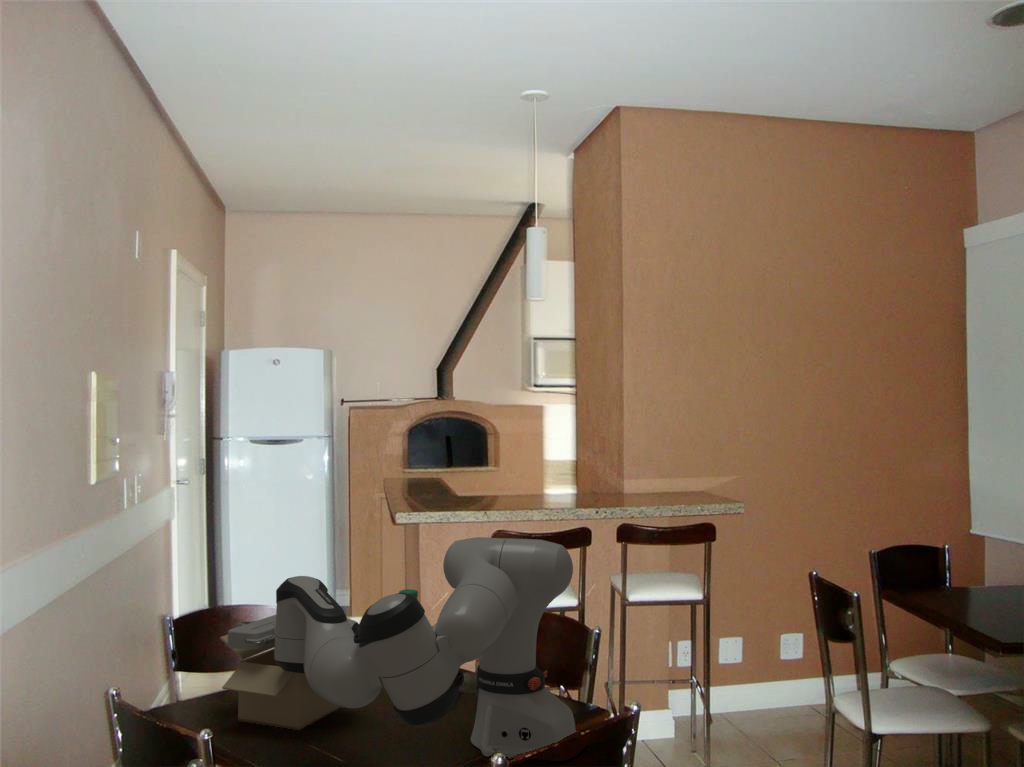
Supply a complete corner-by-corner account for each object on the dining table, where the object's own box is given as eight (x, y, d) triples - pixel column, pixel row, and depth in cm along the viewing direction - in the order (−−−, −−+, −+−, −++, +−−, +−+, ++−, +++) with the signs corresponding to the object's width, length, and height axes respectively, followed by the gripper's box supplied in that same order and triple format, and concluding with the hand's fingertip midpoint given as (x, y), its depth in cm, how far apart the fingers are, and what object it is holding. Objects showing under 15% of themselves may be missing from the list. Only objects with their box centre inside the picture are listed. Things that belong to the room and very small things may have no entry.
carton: (380, 703, 197) (380, 647, 197) (305, 745, 172) (306, 681, 172) (299, 691, 205) (300, 637, 205) (217, 730, 180) (218, 669, 180)
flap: (259, 623, 201) (258, 625, 201) (220, 636, 189) (219, 638, 190) (280, 643, 199) (279, 645, 199) (242, 658, 187) (242, 659, 187)
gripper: (260, 659, 180) (205, 652, 185) (320, 636, 199) (268, 630, 204) (261, 628, 180) (206, 621, 186) (320, 608, 199) (269, 602, 205)
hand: (239, 626), depth 195 cm, fingers closed, pressing on flap
